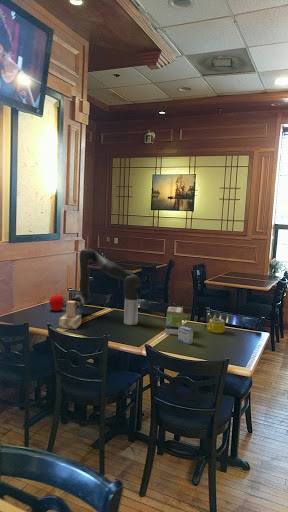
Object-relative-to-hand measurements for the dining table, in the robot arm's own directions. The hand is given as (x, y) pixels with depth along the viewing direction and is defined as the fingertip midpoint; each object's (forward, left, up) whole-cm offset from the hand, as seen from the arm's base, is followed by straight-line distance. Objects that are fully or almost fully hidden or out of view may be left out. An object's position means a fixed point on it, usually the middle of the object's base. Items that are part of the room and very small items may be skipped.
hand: (70, 306), depth 239 cm
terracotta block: (0, -2, -7) cm, 7 cm away
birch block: (0, -2, -13) cm, 13 cm away
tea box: (-68, -5, -13) cm, 69 cm away
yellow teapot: (-95, -10, -13) cm, 96 cm away
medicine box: (-75, +16, -13) cm, 78 cm away
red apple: (+22, -39, -13) cm, 46 cm away
